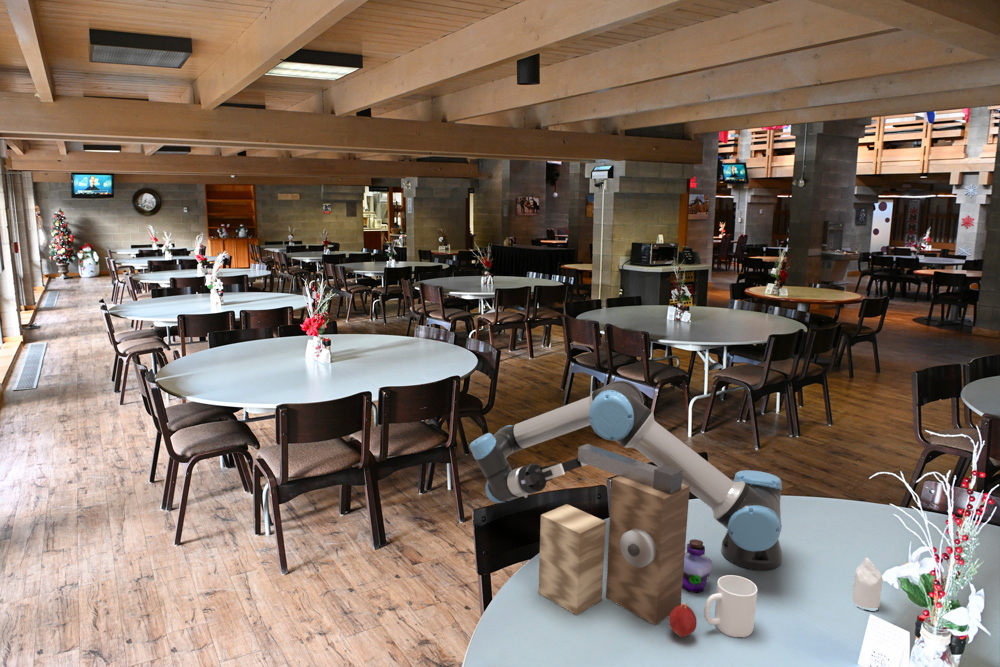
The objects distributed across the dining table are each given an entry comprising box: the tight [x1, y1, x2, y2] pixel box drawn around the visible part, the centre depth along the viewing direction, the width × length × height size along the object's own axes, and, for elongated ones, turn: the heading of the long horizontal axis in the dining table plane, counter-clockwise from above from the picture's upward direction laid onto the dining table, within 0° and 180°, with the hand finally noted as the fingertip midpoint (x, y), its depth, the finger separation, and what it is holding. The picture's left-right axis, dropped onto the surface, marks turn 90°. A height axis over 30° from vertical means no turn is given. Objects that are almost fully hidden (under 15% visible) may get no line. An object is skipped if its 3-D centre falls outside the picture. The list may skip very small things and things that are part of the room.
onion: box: [668, 602, 697, 638], centre depth 146 cm, size 6×6×8 cm
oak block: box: [538, 503, 607, 616], centre depth 159 cm, size 12×9×20 cm
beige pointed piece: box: [851, 557, 883, 608], centre depth 159 cm, size 6×12×6 cm
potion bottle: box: [682, 539, 713, 594], centre depth 165 cm, size 9×9×12 cm
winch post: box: [605, 475, 690, 626], centre depth 155 cm, size 14×13×30 cm
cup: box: [703, 574, 758, 638], centre depth 149 cm, size 8×12×10 cm
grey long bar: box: [577, 443, 683, 495], centre depth 157 cm, size 26×4×4 cm, turn 45°
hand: (580, 462), depth 168 cm, fingers open, 13 cm apart
